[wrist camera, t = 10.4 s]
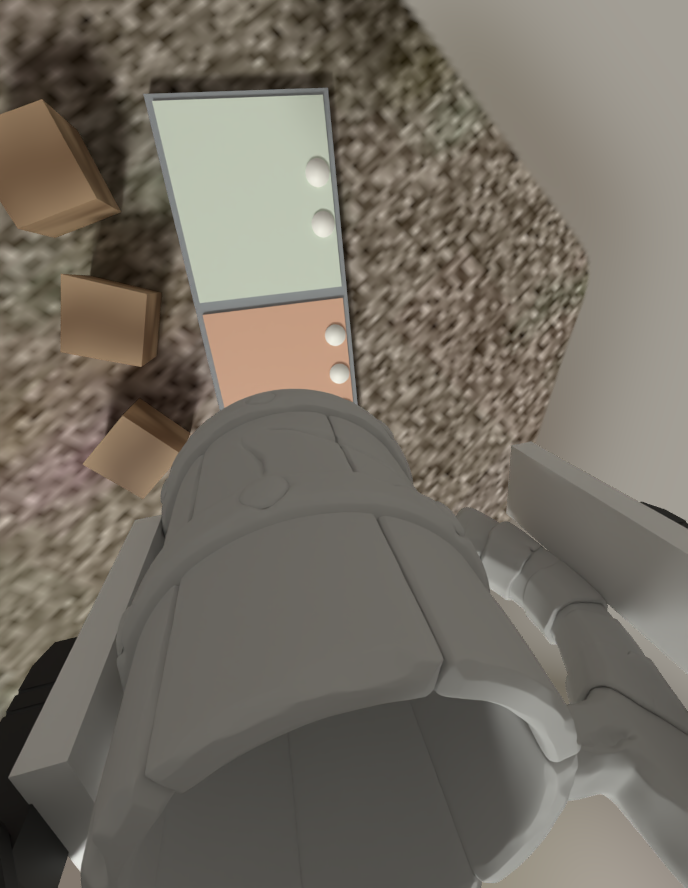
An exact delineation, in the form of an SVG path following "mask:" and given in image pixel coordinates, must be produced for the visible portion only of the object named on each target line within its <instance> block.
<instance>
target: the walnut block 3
mask: <svg viewBox="0 0 688 888" xmlns="http://www.w3.org/2000/svg"><path fill="white" fill-rule="evenodd" d="M189 435H190V433H189V432H188V431H186V430H185V429H184V428H182V427H181V426H179V425H178V424H176V423H175V422H173V421H172V420H171V419H169V418H168V417H166V416H165V415H163V414H162V413H160V412H159V411H157V410H156V409H155V408H153V407H152V406H150V405H149V404H147V403H146V402H144V401H143V400H141V399H140V398H139V399H138V400H137V401H136V402H135V403H134V404H133V405H132V406H131V407H130V408H129V409H128V410H127V411H126V412H125V413H124V414H123V415H122V417H121V418H120V419H119V420H118V422H117V423H116V424H115V425H114V426H113V428H112V429H111V430H110V431H109V433H108V434H107V435H106V436H105V437H104V439H103V440H102V441H101V442H100V444H99V445H98V446H97V447H96V448H95V450H94V451H93V452H92V453H91V454H90V456H89V457H88V458H87V459H86V461H85V462H84V463H83V465H85V466H86V467H88V468H90V469H92V470H93V471H95V472H97V473H99V474H100V475H102V476H104V477H105V478H107V479H109V480H111V481H112V482H114V483H116V484H118V485H119V486H121V487H123V488H125V489H126V490H128V491H130V492H132V493H133V494H135V495H137V496H138V497H140V498H142V499H144V497H145V496H146V495H147V494H148V493H149V492H150V491H151V489H152V488H153V487H154V486H155V485H156V484H157V482H158V481H159V480H160V479H161V478H162V477H163V475H164V474H165V473H166V472H167V471H168V470H169V468H170V467H171V466H172V464H173V462H174V460H175V458H176V456H177V455H178V453H179V452H180V450H181V449H182V448H183V446H184V445H185V443H186V442H187V440H188V437H189Z"/></svg>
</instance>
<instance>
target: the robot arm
mask: <svg viewBox="0 0 688 888" xmlns="http://www.w3.org/2000/svg"><path fill="white" fill-rule="evenodd" d="M507 514H508V515H509V516H510V517H511V518H512V519H513V520H515V521H516V522H517V523H518V524H519V525H520V526H521V527H522V528H524V529H525V530H526V531H527V532H528V533H529V534H530V535H531V536H532V537H534V538H535V539H536V540H537V541H538V542H539V543H540V544H541V545H543V546H544V547H545V548H546V549H547V550H548V551H549V552H551V553H552V554H554V555H555V556H556V557H557V558H558V559H560V560H561V561H564V562H565V563H566V564H567V565H568V566H569V567H570V568H571V569H573V570H574V571H575V572H576V573H578V574H579V575H580V576H581V577H582V578H584V579H585V580H586V581H587V582H588V583H589V584H591V585H592V586H593V587H594V588H595V589H596V590H597V591H598V592H599V593H600V594H601V595H602V596H603V597H604V598H605V600H606V601H607V604H609V605H610V606H611V607H612V608H613V609H614V610H615V611H616V612H618V613H619V614H620V615H621V616H622V617H623V618H624V619H625V620H627V621H628V622H629V623H630V624H631V625H632V626H633V627H634V628H636V629H637V630H638V631H639V632H640V633H641V634H642V635H643V636H645V637H646V638H647V639H648V640H649V641H650V642H651V643H653V644H654V645H655V646H656V647H657V648H658V649H659V650H660V651H661V652H662V653H663V654H665V655H666V656H667V657H668V658H669V659H670V660H671V661H673V662H674V663H675V664H676V665H677V666H678V667H679V668H680V669H682V670H683V671H684V672H685V673H686V674H688V524H687V523H686V521H685V520H683V519H682V518H680V517H678V516H676V515H674V514H672V513H670V512H669V511H667V510H665V509H661V508H659V507H656V506H653V505H650V504H647V503H644V502H638V501H637V500H635V499H633V498H631V497H630V496H628V495H626V494H624V493H622V492H621V491H619V490H617V489H615V488H613V487H611V486H610V485H608V484H606V483H604V482H603V481H601V480H599V479H597V478H595V477H594V476H592V475H590V474H588V473H586V472H585V471H583V470H581V469H579V468H577V467H576V466H574V465H572V464H570V463H569V462H567V461H565V460H563V459H561V458H560V457H558V456H556V455H554V454H552V453H551V452H549V451H547V450H545V449H543V448H542V447H540V446H538V445H536V444H535V443H533V442H527V443H522V444H517V445H512V446H511V457H510V471H509V485H508V499H507ZM164 542H165V536H164V532H163V526H162V515H159V516H154V517H149V518H144V519H139V520H135V522H134V524H133V526H132V528H131V530H130V532H129V534H128V536H127V538H126V540H125V542H124V544H123V546H122V548H121V550H120V552H119V554H118V556H117V558H116V560H115V562H114V564H113V566H112V568H111V570H110V572H109V574H108V576H107V578H106V580H105V582H104V584H103V586H102V588H101V590H100V592H99V595H98V597H97V599H96V601H95V603H94V605H93V607H92V609H91V611H90V613H89V615H88V617H87V619H86V621H85V623H84V625H83V627H82V629H81V631H80V633H79V635H78V637H75V638H71V639H67V640H62V641H58V642H55V643H54V644H53V645H52V646H51V647H50V648H49V649H48V650H47V651H46V652H45V653H44V654H43V655H42V656H41V657H40V658H39V659H38V661H37V662H36V663H35V664H34V665H33V666H32V668H31V669H30V671H29V673H28V675H27V676H26V678H25V680H24V682H23V683H22V685H21V687H20V689H19V690H18V691H19V694H18V695H16V696H15V697H14V699H13V701H12V702H11V704H10V706H9V708H8V709H7V711H6V717H3V718H2V720H1V722H0V888H58V885H59V882H60V879H61V875H62V872H63V869H64V866H65V863H66V860H67V857H68V856H69V858H70V859H71V860H72V861H73V863H74V864H75V865H76V867H77V868H78V869H79V870H80V872H81V864H82V859H83V854H84V850H85V845H86V840H87V836H88V831H89V826H90V821H91V816H92V812H93V808H94V804H95V800H96V796H97V792H98V789H99V785H100V781H101V777H102V774H103V770H104V766H105V762H106V759H107V755H108V751H109V748H110V744H111V740H112V736H113V733H114V729H115V725H116V721H117V718H118V714H119V710H120V706H121V703H122V699H123V695H124V694H123V690H122V685H121V680H120V675H119V671H118V667H117V658H118V655H117V649H116V636H117V631H118V626H119V622H120V619H121V617H122V614H123V613H124V611H125V610H126V609H127V608H128V607H129V606H131V605H132V602H133V599H134V597H135V595H136V593H137V590H138V588H139V586H140V584H141V582H142V580H143V578H144V576H145V574H146V572H147V571H148V569H149V567H150V566H151V564H152V562H153V561H154V559H155V558H156V556H157V555H158V554H159V552H160V551H161V550H162V549H163V546H164Z"/></svg>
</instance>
